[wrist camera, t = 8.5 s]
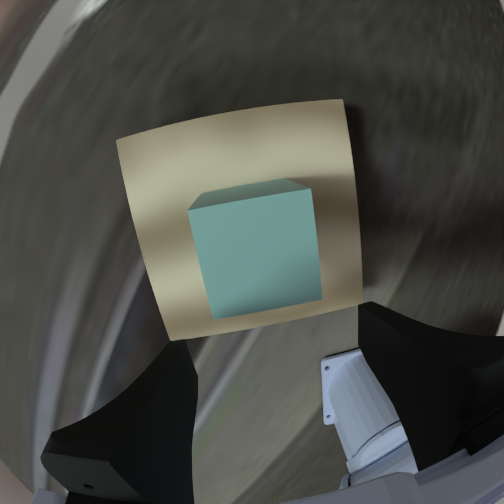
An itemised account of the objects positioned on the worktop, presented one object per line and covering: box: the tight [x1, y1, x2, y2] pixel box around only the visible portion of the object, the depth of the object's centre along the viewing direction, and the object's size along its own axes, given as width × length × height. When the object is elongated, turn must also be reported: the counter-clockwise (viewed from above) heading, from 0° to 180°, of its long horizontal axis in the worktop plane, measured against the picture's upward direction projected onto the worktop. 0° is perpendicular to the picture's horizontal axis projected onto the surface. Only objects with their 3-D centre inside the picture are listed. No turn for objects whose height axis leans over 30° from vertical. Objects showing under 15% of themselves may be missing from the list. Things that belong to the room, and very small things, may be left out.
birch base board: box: [116, 99, 363, 341], centre depth 19 cm, size 14×14×2 cm
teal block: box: [187, 178, 322, 320], centre depth 15 cm, size 5×5×6 cm
